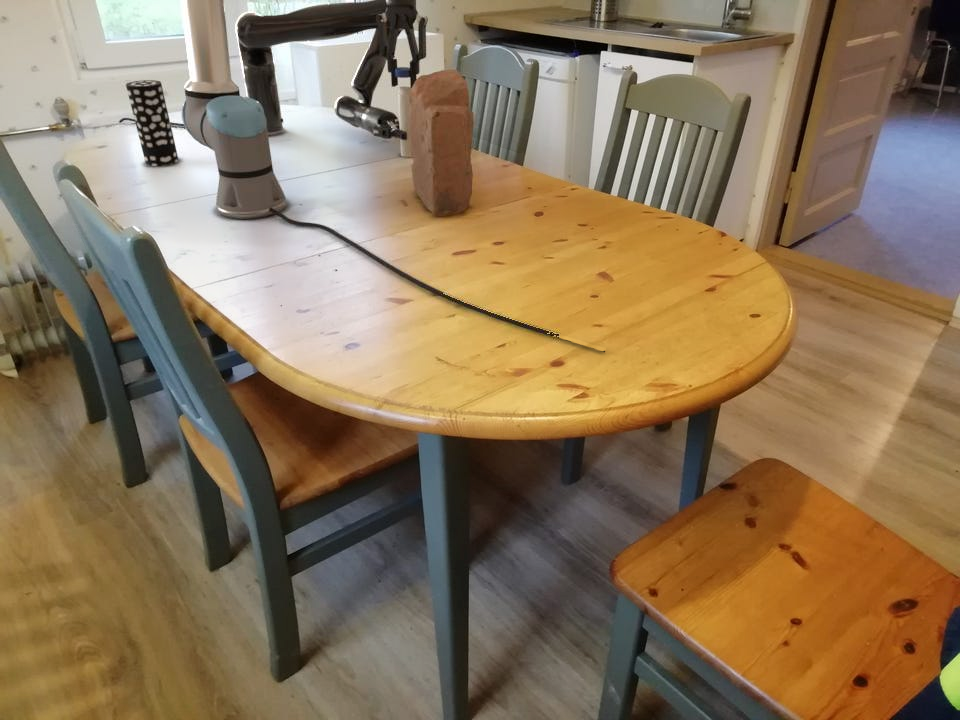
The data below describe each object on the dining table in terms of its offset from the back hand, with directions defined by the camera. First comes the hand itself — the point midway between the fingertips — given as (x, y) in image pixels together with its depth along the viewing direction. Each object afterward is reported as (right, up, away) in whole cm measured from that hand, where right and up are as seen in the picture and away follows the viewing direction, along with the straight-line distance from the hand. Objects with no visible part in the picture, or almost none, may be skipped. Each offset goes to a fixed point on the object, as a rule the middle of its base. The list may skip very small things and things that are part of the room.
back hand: (412, 134), depth 189 cm
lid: (-2, +15, -7) cm, 17 cm away
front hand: (-2, +11, -5) cm, 13 cm away
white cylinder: (-2, -4, +5) cm, 7 cm away
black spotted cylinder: (-68, 0, -9) cm, 68 cm away
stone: (+10, -24, -26) cm, 37 cm away
